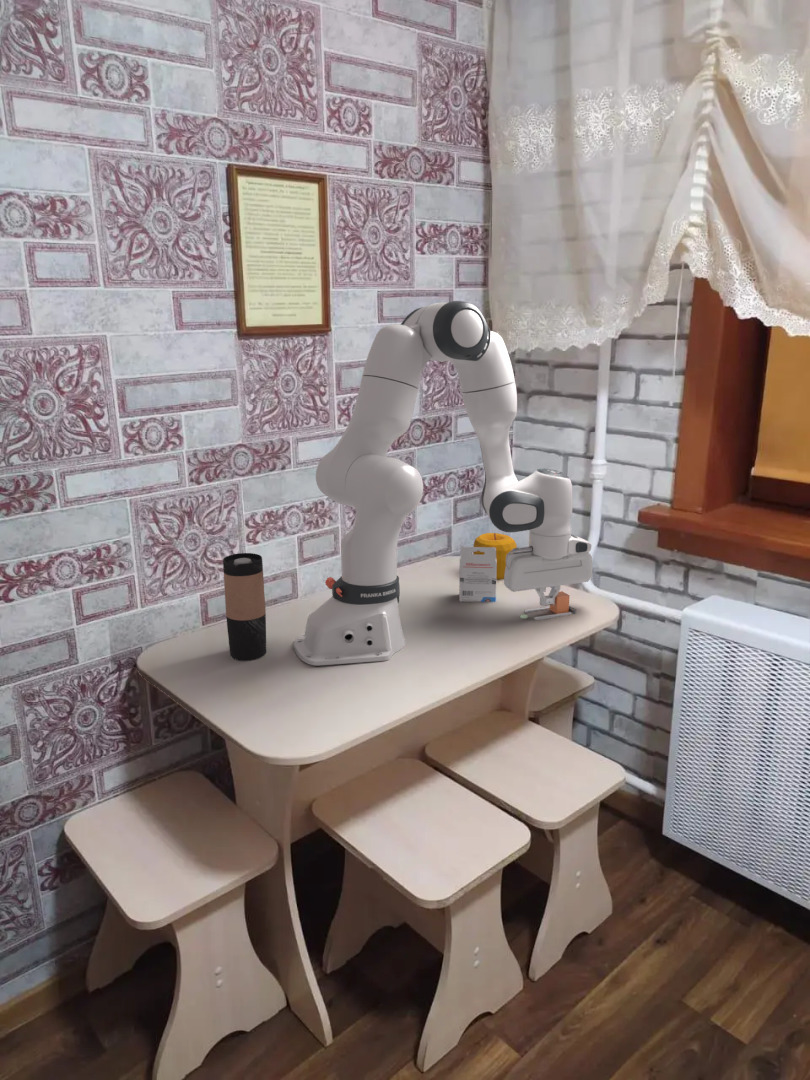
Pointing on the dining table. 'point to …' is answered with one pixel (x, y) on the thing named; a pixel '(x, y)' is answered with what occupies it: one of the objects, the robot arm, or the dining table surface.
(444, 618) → the dining table surface
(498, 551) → the apple
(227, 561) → the travel mug
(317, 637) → the robot arm
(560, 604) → the block
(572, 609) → the breaker panel
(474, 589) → the ink box
